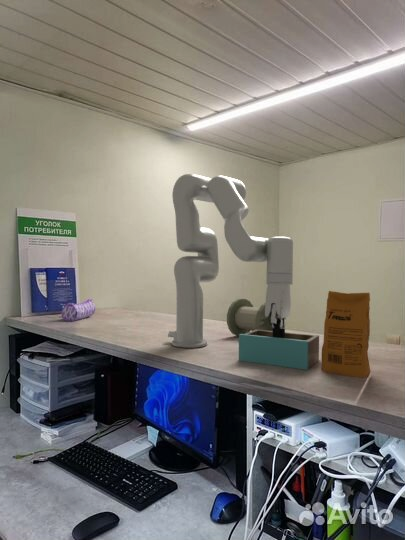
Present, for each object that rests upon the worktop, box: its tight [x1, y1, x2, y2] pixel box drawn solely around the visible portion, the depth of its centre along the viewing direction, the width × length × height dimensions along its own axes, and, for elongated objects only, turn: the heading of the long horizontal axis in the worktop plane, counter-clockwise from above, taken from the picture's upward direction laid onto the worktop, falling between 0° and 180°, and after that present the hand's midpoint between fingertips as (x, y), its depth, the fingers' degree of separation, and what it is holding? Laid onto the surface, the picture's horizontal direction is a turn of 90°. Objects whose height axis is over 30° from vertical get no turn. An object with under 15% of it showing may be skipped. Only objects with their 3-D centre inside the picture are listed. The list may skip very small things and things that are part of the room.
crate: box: [245, 330, 320, 370], centre depth 119 cm, size 20×12×8 cm, turn 61°
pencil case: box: [61, 298, 96, 322], centre depth 208 cm, size 22×9×10 cm, turn 170°
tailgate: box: [238, 334, 309, 371], centre depth 113 cm, size 20×1×8 cm, turn 61°
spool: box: [226, 298, 273, 337], centre depth 158 cm, size 16×15×15 cm
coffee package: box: [321, 290, 371, 378], centre depth 107 cm, size 10×12×22 cm
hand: (278, 341), depth 118 cm, fingers closed
